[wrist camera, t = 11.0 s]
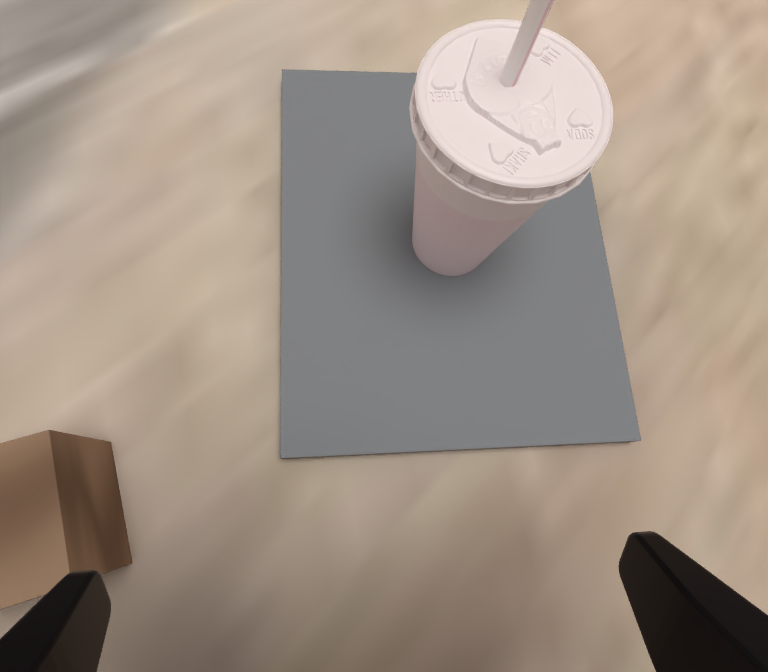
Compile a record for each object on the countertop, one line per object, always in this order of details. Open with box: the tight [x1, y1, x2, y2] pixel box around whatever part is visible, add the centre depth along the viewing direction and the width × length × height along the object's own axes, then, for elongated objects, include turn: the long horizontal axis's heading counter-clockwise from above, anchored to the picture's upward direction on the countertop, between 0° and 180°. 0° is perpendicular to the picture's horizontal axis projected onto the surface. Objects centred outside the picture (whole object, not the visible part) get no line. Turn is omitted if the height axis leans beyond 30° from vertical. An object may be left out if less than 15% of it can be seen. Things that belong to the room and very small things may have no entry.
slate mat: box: [280, 70, 641, 459], centre depth 25 cm, size 20×16×1 cm
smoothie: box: [409, 0, 613, 276], centre depth 18 cm, size 6×6×14 cm
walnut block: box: [0, 430, 132, 609], centre depth 18 cm, size 5×5×5 cm
